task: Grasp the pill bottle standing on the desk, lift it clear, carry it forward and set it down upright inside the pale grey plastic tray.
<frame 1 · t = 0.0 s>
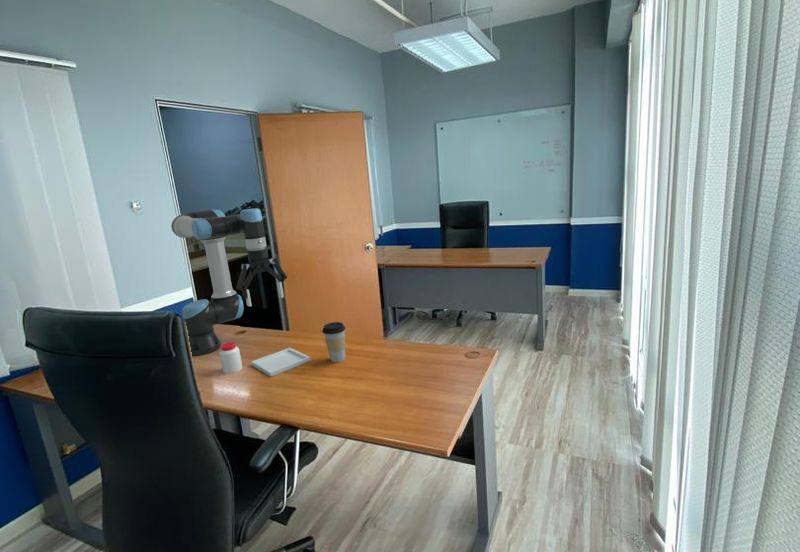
hand: (265, 301, 169), 28 cm above the table, fingers open, 13 cm apart
coffee cup: (337, 359, 177), on the table
pill bottle: (233, 369, 177), on the table
tray: (281, 363, 178), on the table
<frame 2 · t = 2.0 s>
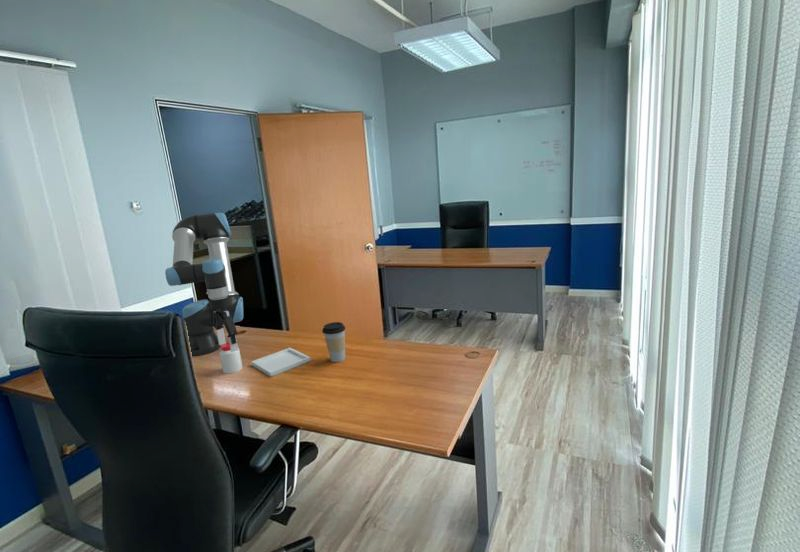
hand: (228, 347, 174), 10 cm above the table, fingers open, 13 cm apart
nothing on the table moved.
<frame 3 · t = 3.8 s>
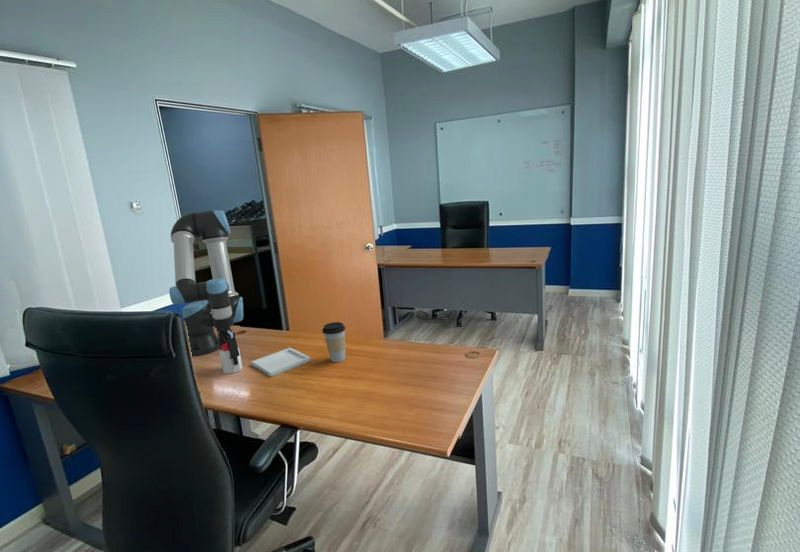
hand: (232, 368, 177), 0 cm above the table, fingers closed on pill bottle, 8 cm apart
pill bottle: (232, 369, 177), on the table, touching gripper
everything else where it was.
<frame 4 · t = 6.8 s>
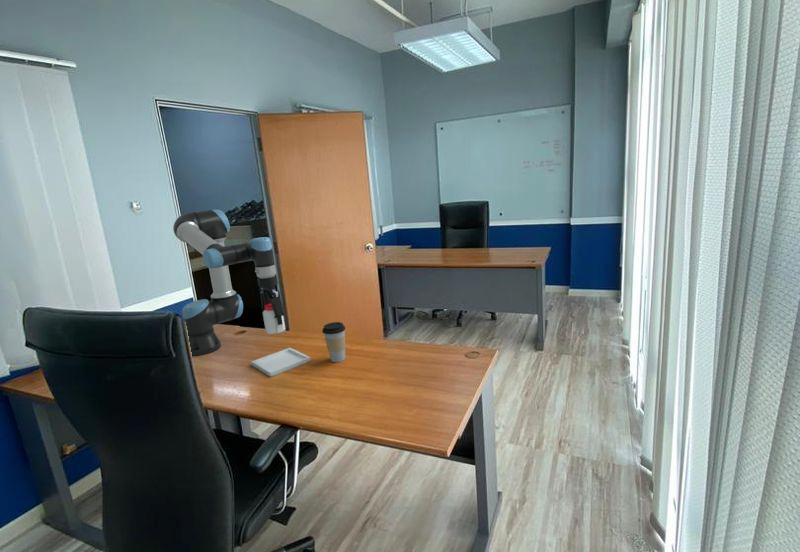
hand: (275, 329, 175), 15 cm above the table, fingers closed on pill bottle, 8 cm apart
pill bottle: (275, 330, 175), point 14 cm above the table, touching gripper
everything else where it was.
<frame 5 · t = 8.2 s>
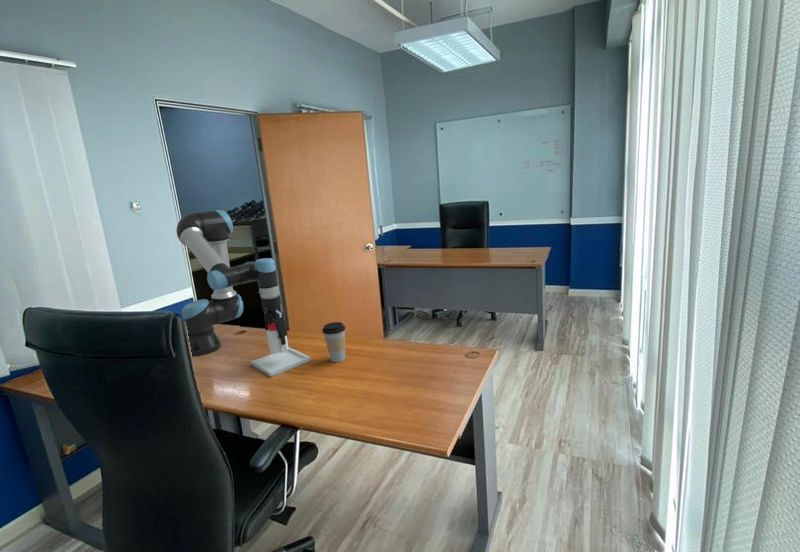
hand: (279, 349, 177), 6 cm above the table, fingers closed on pill bottle, 8 cm apart
pill bottle: (279, 350, 177), point 6 cm above the table, touching gripper
everything else where it was.
when the fingers open (3 cm above the table, at t = 9.7 s): pill bottle drops 2 cm, resting on tray.
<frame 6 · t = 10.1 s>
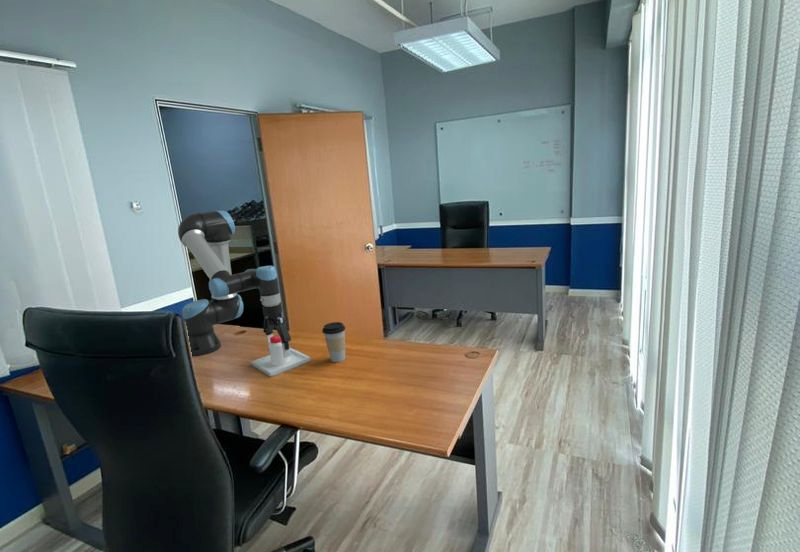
hand: (279, 352, 177), 5 cm above the table, fingers open, 13 cm apart
pill bottle: (281, 362, 178), resting on tray
everything else where it was.
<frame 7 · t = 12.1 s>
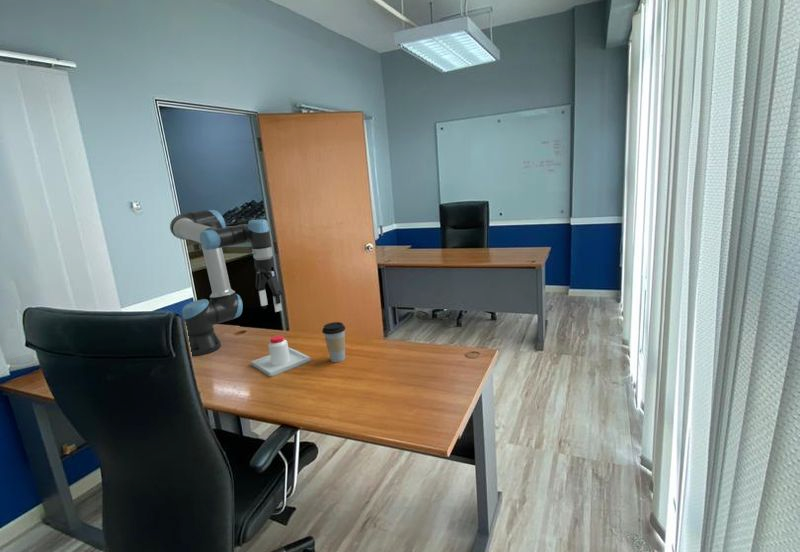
hand: (271, 308, 177), 23 cm above the table, fingers open, 13 cm apart
nothing on the table moved.
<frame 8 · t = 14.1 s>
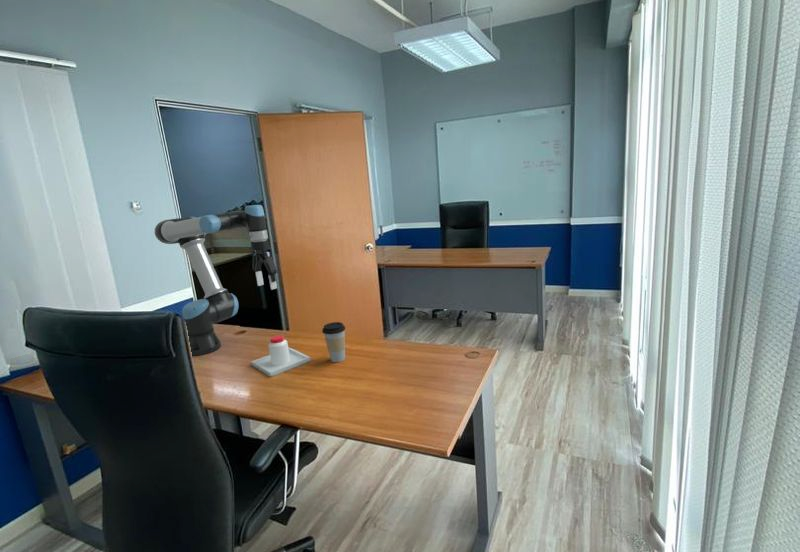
hand: (267, 287, 192), 29 cm above the table, fingers open, 13 cm apart
nothing on the table moved.
at the end: pill bottle inside the target area on the tray (0.1 cm from its centre), point 0.4 cm above the tray's base; pill bottle tilted 0°; the gripper is holding nothing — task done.
